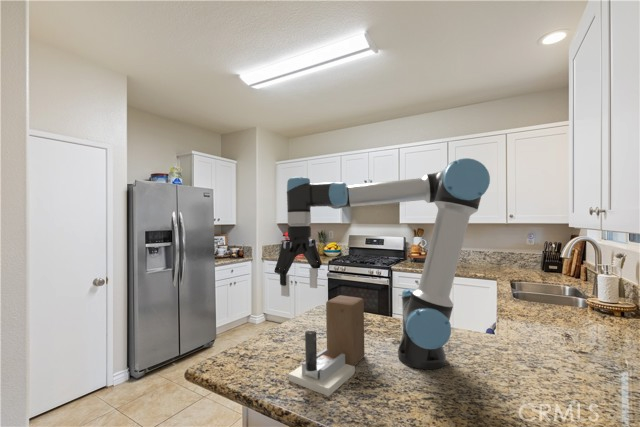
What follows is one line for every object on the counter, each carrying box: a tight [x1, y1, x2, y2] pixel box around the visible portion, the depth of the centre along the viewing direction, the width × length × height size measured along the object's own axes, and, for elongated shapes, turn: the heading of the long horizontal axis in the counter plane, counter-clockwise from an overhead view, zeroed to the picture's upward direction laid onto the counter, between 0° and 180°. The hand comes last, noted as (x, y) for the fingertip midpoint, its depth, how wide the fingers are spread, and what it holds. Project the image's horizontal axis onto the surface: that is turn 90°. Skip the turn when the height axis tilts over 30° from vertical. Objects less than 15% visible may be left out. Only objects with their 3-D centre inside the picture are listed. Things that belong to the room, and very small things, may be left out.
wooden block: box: [325, 295, 366, 367], centre depth 100 cm, size 10×10×20 cm
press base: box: [288, 348, 356, 397], centre depth 88 cm, size 14×14×5 cm
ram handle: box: [304, 330, 335, 379], centre depth 87 cm, size 4×11×12 cm, turn 145°
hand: (300, 291), depth 95 cm, fingers open, 13 cm apart
